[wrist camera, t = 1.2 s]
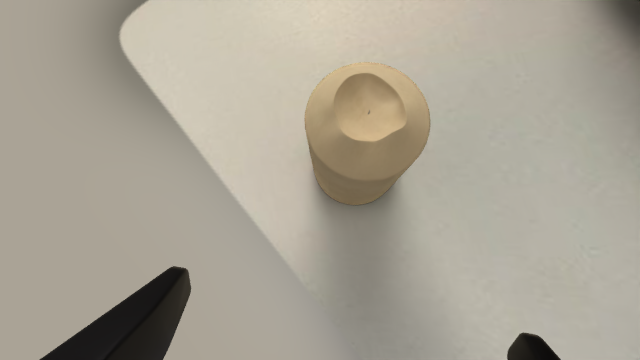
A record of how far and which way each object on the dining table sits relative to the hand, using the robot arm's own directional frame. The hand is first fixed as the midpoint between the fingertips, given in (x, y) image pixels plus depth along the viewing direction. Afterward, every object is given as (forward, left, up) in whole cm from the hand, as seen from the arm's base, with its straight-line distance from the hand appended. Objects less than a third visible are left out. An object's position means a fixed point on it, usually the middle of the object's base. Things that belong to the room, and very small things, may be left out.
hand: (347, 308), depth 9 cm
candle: (+7, +2, -13) cm, 15 cm away
